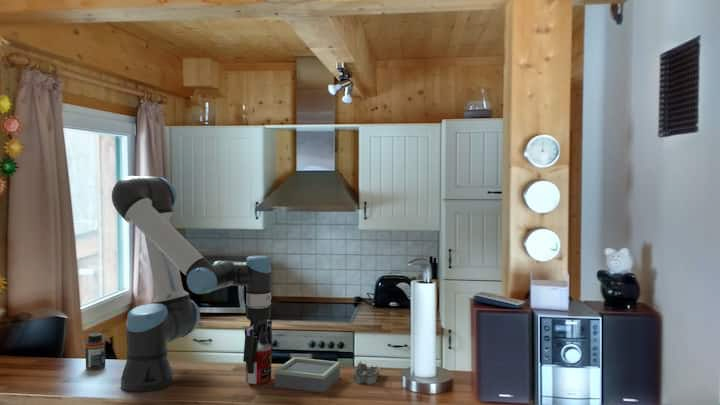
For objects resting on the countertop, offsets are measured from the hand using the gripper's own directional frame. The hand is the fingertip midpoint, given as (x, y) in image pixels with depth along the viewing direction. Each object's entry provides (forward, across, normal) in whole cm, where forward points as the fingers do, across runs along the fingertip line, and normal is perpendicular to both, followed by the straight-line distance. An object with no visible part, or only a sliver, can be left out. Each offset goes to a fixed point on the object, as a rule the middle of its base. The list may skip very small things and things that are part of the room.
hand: (258, 378), depth 177 cm
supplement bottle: (+1, -6, +57) cm, 57 cm away
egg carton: (+1, +13, -31) cm, 34 cm away
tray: (+1, +4, -15) cm, 16 cm away
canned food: (+1, 0, 0) cm, 1 cm away
